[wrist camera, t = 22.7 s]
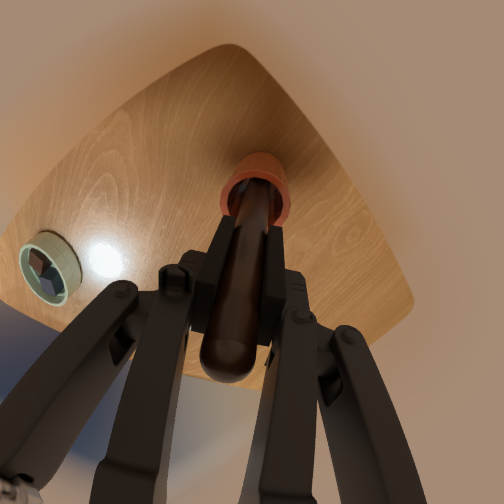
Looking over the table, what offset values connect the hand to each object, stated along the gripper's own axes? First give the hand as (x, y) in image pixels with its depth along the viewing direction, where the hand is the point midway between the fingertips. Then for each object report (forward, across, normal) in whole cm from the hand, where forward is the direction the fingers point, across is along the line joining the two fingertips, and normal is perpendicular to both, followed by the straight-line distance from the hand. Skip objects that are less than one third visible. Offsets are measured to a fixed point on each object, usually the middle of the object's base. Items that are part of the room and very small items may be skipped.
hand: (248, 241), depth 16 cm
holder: (+16, 0, 0) cm, 16 cm away
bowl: (+16, -32, -20) cm, 41 cm away
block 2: (+16, -32, -23) cm, 42 cm away
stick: (+13, 0, +1) cm, 13 cm away
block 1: (+16, -34, -18) cm, 42 cm away
